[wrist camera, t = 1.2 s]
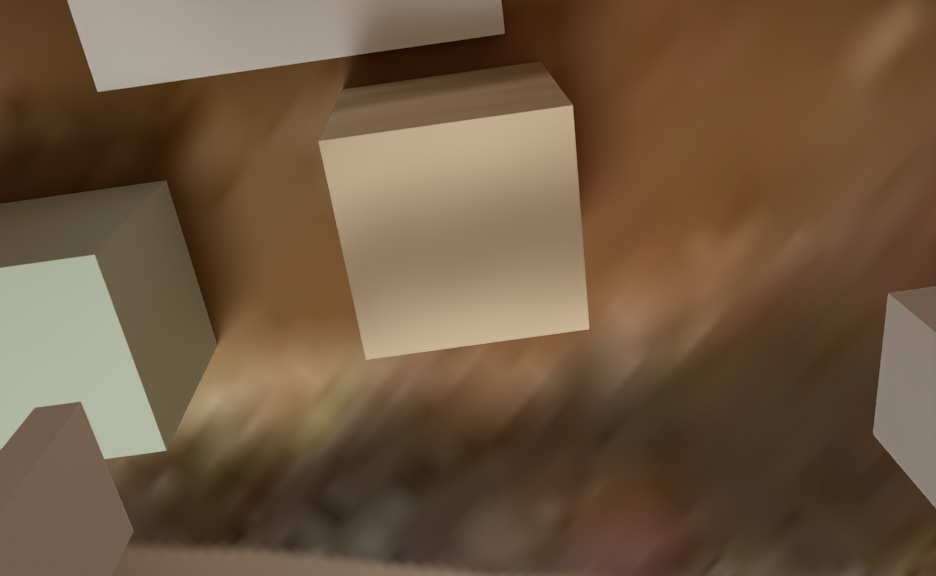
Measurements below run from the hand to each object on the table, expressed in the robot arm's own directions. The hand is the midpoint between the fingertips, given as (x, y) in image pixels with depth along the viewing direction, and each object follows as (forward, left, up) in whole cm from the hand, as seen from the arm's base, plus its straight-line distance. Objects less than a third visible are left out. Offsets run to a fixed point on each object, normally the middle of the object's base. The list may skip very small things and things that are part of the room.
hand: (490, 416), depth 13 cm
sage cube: (+2, -12, -14) cm, 18 cm away
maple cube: (0, 0, -14) cm, 14 cm away
